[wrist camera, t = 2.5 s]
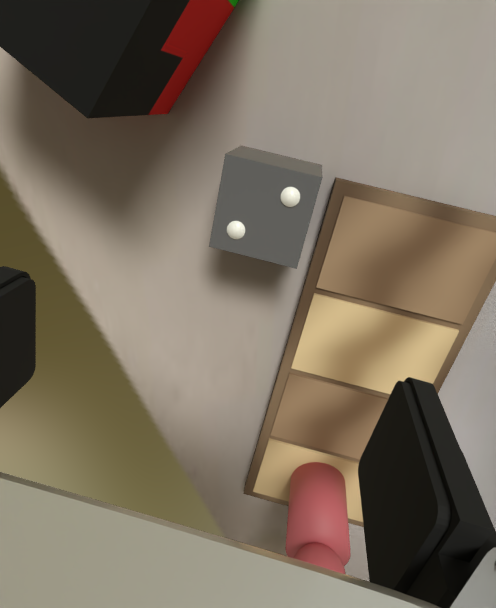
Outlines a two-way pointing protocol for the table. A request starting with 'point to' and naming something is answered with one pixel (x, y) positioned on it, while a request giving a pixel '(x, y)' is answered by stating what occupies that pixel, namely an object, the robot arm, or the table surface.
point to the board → (370, 327)
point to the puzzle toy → (113, 49)
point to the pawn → (318, 517)
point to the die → (265, 205)
